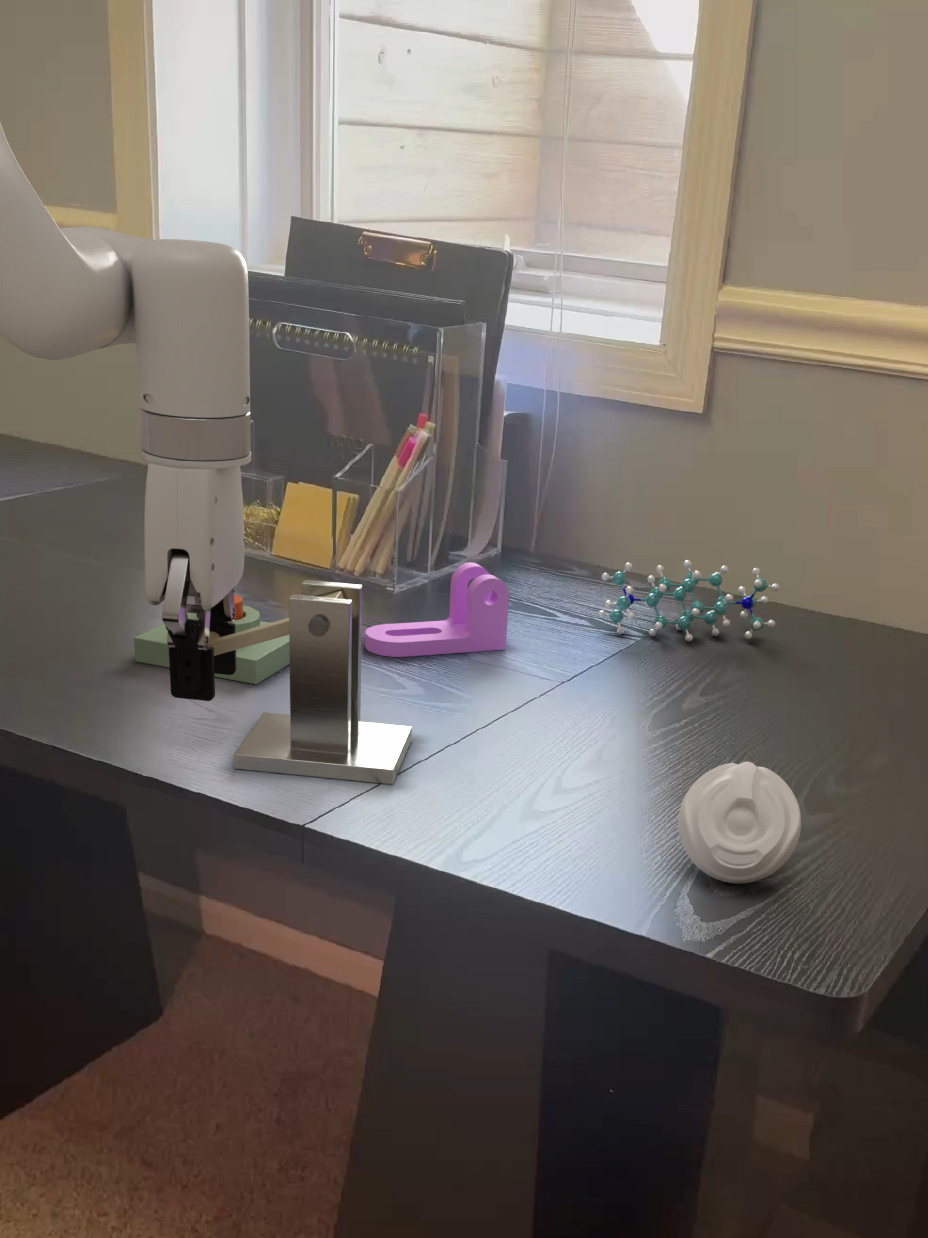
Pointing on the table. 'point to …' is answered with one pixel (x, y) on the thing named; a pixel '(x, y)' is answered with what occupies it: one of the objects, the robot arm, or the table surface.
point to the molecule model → (680, 595)
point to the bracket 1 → (325, 699)
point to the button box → (250, 660)
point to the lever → (254, 634)
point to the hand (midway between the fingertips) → (204, 682)
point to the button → (238, 607)
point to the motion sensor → (739, 822)
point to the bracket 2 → (452, 621)
